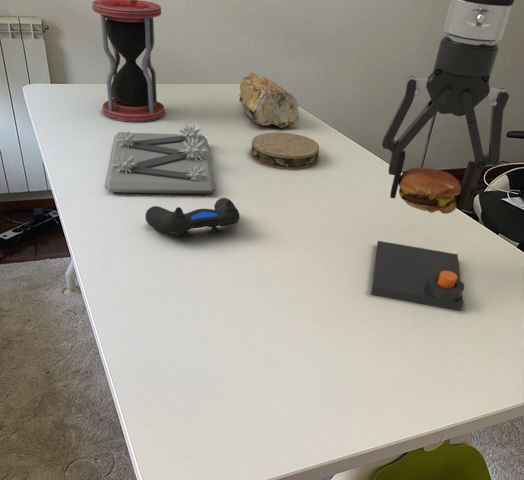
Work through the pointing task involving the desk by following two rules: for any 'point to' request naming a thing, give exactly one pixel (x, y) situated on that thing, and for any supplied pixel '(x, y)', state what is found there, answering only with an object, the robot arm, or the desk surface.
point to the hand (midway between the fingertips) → (425, 200)
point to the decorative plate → (160, 163)
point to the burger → (429, 190)
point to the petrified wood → (267, 102)
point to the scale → (416, 275)
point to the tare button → (447, 279)
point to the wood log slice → (284, 150)
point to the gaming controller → (193, 217)
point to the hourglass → (130, 59)
